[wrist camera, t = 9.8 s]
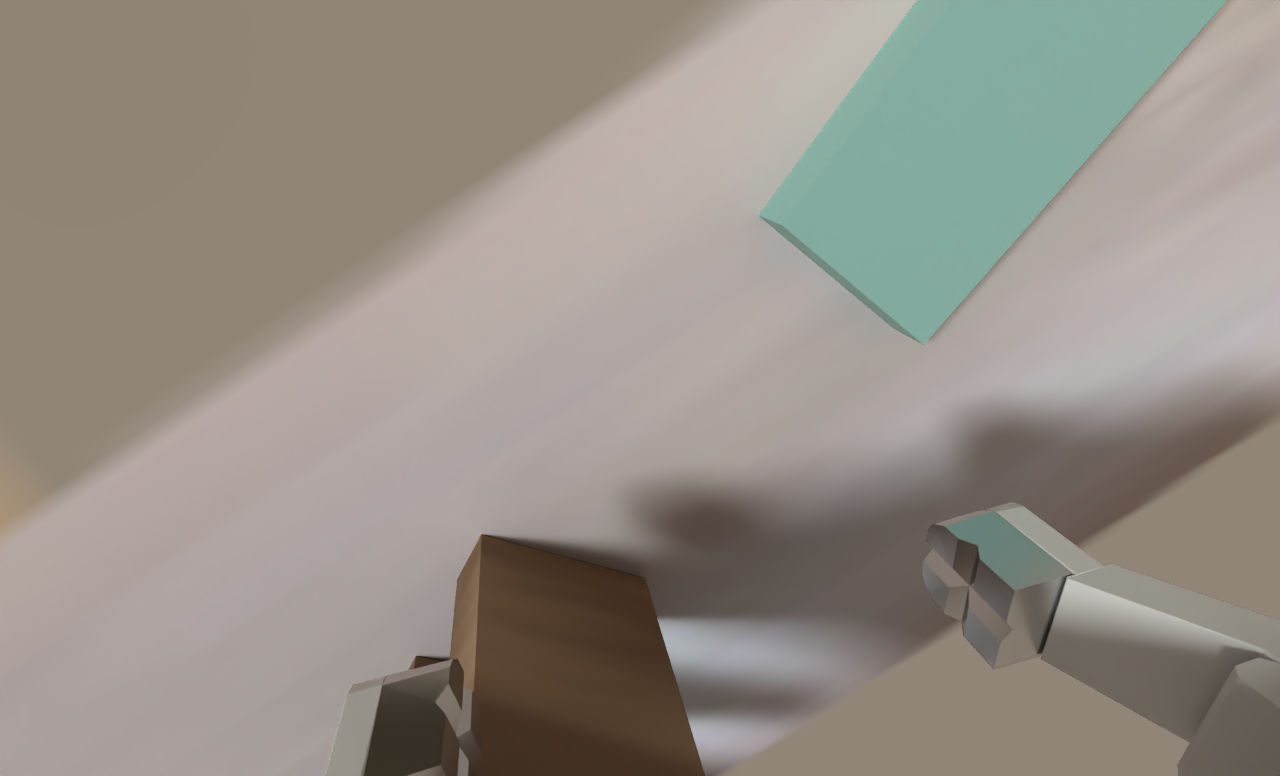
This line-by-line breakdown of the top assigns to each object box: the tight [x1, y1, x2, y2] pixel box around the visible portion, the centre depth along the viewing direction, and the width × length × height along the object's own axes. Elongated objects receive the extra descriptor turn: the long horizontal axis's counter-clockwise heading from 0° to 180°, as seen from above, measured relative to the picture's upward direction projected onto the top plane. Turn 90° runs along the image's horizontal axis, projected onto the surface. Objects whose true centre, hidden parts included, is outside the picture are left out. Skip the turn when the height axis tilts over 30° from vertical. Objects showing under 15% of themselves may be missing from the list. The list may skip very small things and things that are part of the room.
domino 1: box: [450, 535, 705, 776], centre depth 11 cm, size 2×5×10 cm, turn 60°
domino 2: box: [759, 0, 1227, 345], centre depth 12 cm, size 2×5×10 cm
